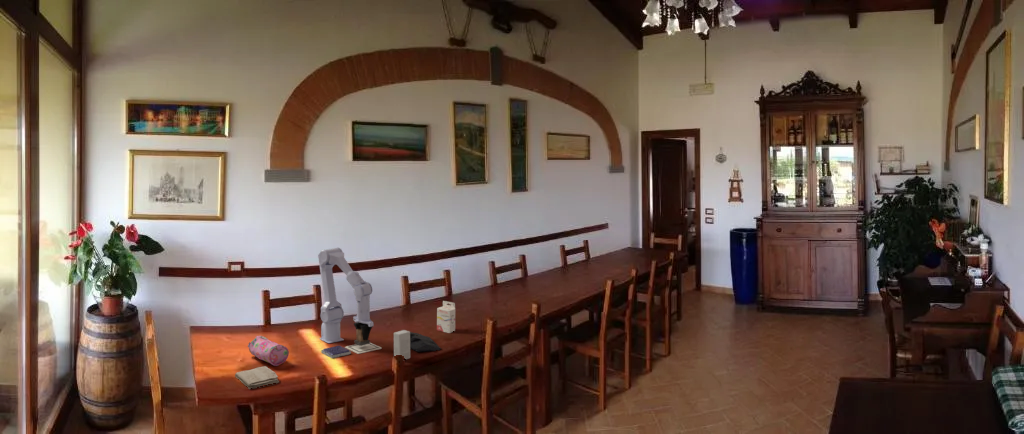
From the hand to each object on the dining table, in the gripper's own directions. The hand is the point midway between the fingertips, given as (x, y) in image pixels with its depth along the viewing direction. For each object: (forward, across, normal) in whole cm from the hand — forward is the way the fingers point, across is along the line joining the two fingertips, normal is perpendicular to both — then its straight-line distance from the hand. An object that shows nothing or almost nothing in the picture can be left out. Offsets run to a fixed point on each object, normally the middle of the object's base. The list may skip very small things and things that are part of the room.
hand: (363, 338), depth 274 cm
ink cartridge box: (+5, +2, +46) cm, 46 cm away
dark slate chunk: (+5, +14, +22) cm, 27 cm away
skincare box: (+5, +24, +5) cm, 25 cm away
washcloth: (+5, +8, -51) cm, 52 cm away
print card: (+4, 0, 0) cm, 4 cm away
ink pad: (+4, -1, -13) cm, 14 cm away
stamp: (+2, 0, -1) cm, 2 cm away
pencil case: (+5, -12, -39) cm, 41 cm away
